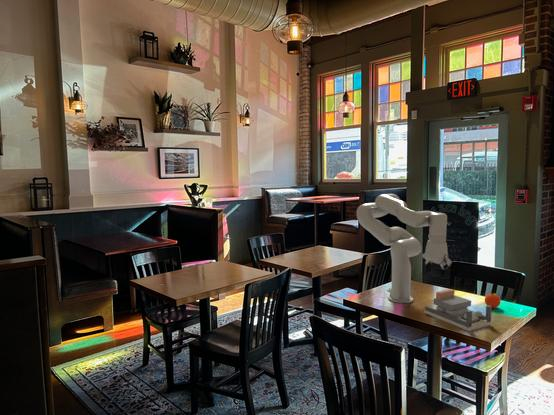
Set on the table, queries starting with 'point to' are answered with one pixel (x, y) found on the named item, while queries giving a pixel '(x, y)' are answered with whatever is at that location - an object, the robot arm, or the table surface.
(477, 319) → the loose roller
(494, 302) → the clementine
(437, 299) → the slab
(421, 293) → the table surface
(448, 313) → the roller track
